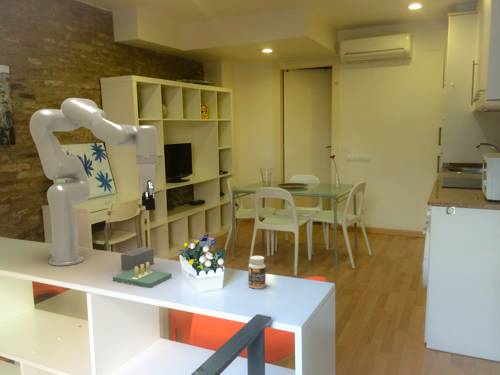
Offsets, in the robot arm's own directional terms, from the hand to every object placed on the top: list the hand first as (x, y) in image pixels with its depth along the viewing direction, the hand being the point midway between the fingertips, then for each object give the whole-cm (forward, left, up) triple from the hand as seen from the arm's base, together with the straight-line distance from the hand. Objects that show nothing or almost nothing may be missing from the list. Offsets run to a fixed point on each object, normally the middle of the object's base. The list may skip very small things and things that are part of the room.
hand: (148, 207), depth 159 cm
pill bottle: (+41, +4, -24) cm, 48 cm away
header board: (+2, -7, -24) cm, 25 cm away
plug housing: (-9, +4, -24) cm, 26 cm away
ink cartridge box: (+17, +9, -24) cm, 31 cm away
